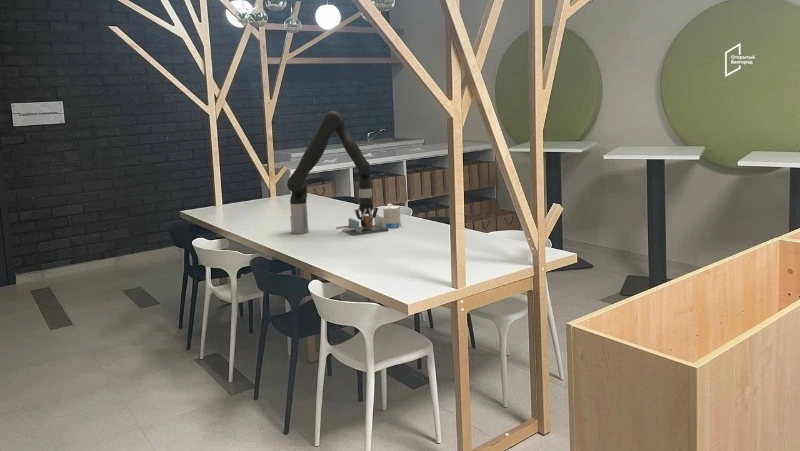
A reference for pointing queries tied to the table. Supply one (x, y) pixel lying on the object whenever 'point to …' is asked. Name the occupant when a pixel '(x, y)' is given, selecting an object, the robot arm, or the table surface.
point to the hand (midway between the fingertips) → (367, 225)
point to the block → (367, 222)
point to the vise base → (378, 227)
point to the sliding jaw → (351, 225)
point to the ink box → (392, 216)
